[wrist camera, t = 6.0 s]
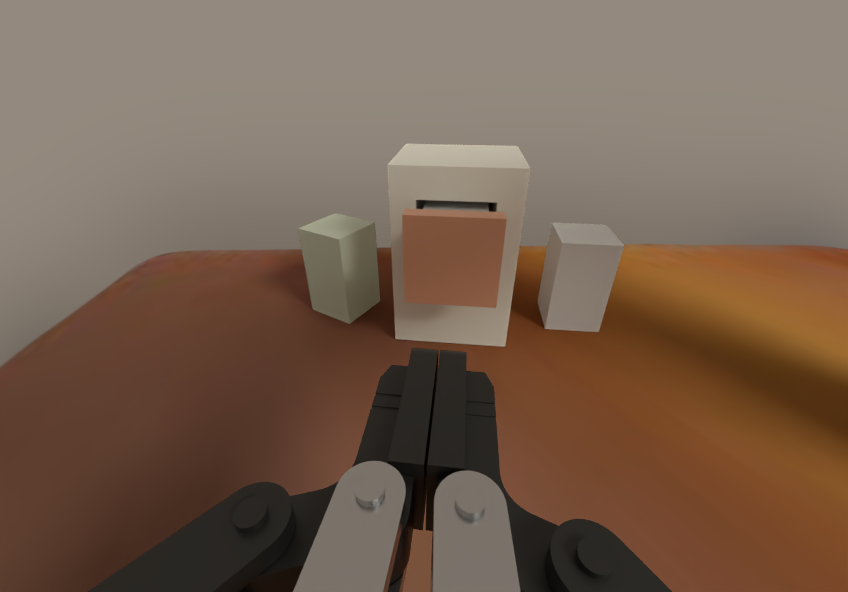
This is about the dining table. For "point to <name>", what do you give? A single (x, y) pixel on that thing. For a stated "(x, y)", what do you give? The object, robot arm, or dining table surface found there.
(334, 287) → the sage block
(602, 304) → the grey block
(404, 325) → the cream box with panel
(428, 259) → the button
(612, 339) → the dining table surface
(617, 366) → the dining table surface
